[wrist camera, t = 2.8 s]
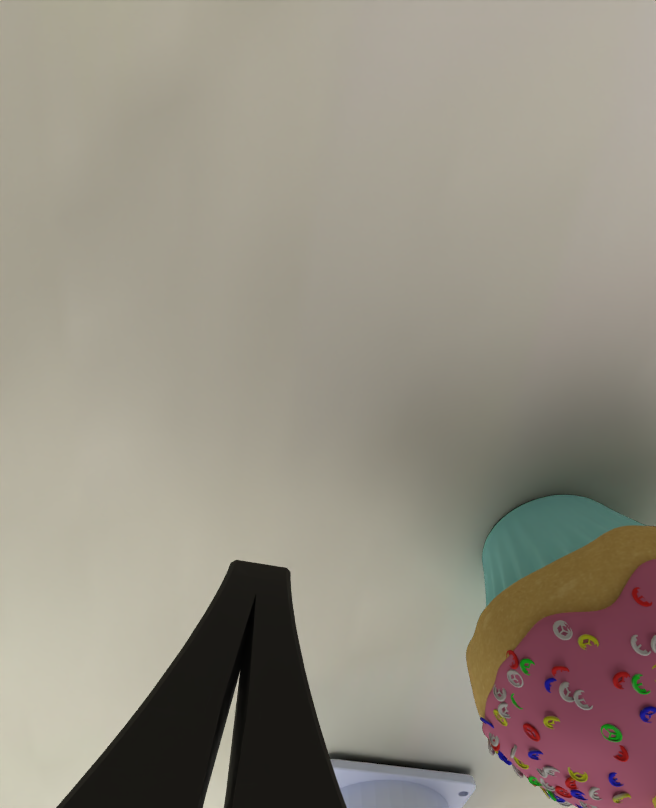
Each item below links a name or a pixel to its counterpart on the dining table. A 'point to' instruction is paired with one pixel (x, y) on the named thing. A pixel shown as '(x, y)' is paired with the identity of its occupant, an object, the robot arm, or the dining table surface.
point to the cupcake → (570, 651)
